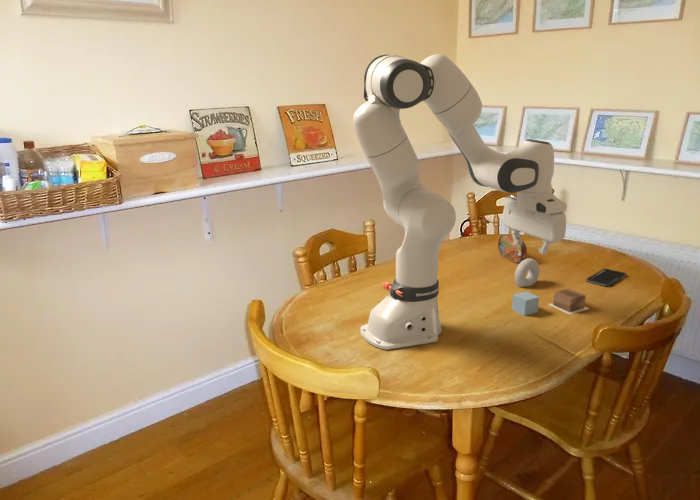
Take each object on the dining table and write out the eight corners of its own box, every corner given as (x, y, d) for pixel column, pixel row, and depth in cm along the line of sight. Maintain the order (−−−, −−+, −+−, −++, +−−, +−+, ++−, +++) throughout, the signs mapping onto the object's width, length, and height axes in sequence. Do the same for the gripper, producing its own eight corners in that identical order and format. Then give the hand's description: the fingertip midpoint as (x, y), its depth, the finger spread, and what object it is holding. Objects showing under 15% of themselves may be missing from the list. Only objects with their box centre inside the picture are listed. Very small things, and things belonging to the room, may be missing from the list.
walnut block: (569, 312, 157) (570, 299, 156) (553, 304, 162) (554, 292, 161) (584, 308, 160) (585, 295, 158) (567, 300, 165) (569, 288, 163)
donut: (519, 293, 174) (522, 263, 171) (511, 289, 177) (513, 260, 174) (540, 286, 179) (543, 257, 176) (531, 283, 182) (534, 254, 179)
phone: (585, 279, 182) (604, 268, 192) (584, 282, 183) (604, 271, 192) (609, 285, 177) (628, 273, 187) (609, 288, 177) (627, 276, 187)
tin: (496, 253, 212) (498, 232, 209) (504, 252, 213) (505, 231, 210) (519, 265, 198) (521, 243, 196) (527, 264, 199) (529, 242, 196)
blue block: (524, 320, 156) (525, 300, 154) (511, 313, 160) (513, 294, 158) (537, 316, 158) (539, 297, 156) (524, 310, 162) (526, 291, 160)
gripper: (498, 194, 156) (495, 241, 161) (553, 209, 139) (549, 261, 143) (515, 191, 159) (512, 237, 163) (572, 206, 142) (567, 257, 146)
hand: (530, 249), depth 153 cm, fingers open, 8 cm apart
